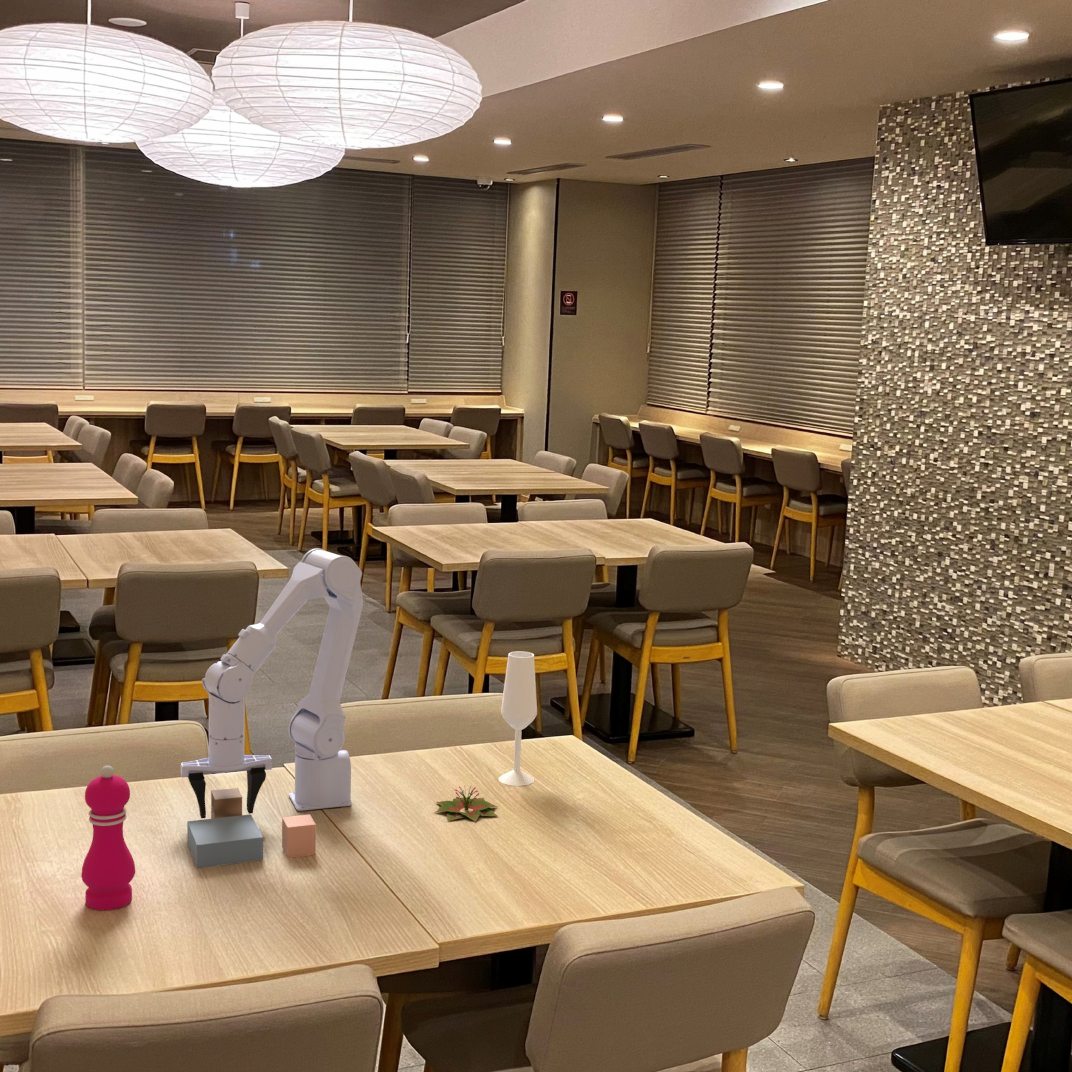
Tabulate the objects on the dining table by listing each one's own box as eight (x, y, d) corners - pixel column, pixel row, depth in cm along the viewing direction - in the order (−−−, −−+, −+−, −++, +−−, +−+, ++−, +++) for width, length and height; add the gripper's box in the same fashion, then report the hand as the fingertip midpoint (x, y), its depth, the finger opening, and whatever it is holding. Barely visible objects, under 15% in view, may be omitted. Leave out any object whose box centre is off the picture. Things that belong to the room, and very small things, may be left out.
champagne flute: (534, 786, 230) (539, 659, 227) (497, 785, 231) (502, 658, 227) (534, 774, 237) (539, 650, 233) (499, 772, 237) (503, 649, 234)
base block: (250, 837, 203) (250, 814, 202) (263, 861, 194) (263, 837, 193) (187, 845, 199) (187, 821, 198) (196, 870, 190) (196, 845, 189)
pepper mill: (85, 916, 173) (83, 777, 170) (78, 895, 179) (76, 760, 176) (139, 907, 176) (138, 770, 173) (130, 886, 183) (129, 754, 179)
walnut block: (237, 816, 211) (238, 787, 210) (242, 825, 207) (242, 797, 206) (211, 819, 209) (211, 790, 209) (214, 828, 205) (214, 799, 204)
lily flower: (489, 797, 225) (490, 773, 224) (509, 822, 214) (510, 796, 213) (424, 803, 221) (425, 778, 221) (441, 828, 210) (441, 802, 209)
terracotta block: (309, 844, 201) (309, 814, 200) (315, 854, 197) (315, 824, 196) (282, 847, 199) (282, 817, 198) (287, 858, 195) (287, 827, 194)
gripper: (266, 724, 212) (266, 800, 214) (178, 731, 207) (178, 809, 209) (274, 736, 206) (273, 815, 208) (183, 744, 200) (183, 825, 202)
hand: (226, 813), depth 208 cm, fingers open, 7 cm apart
